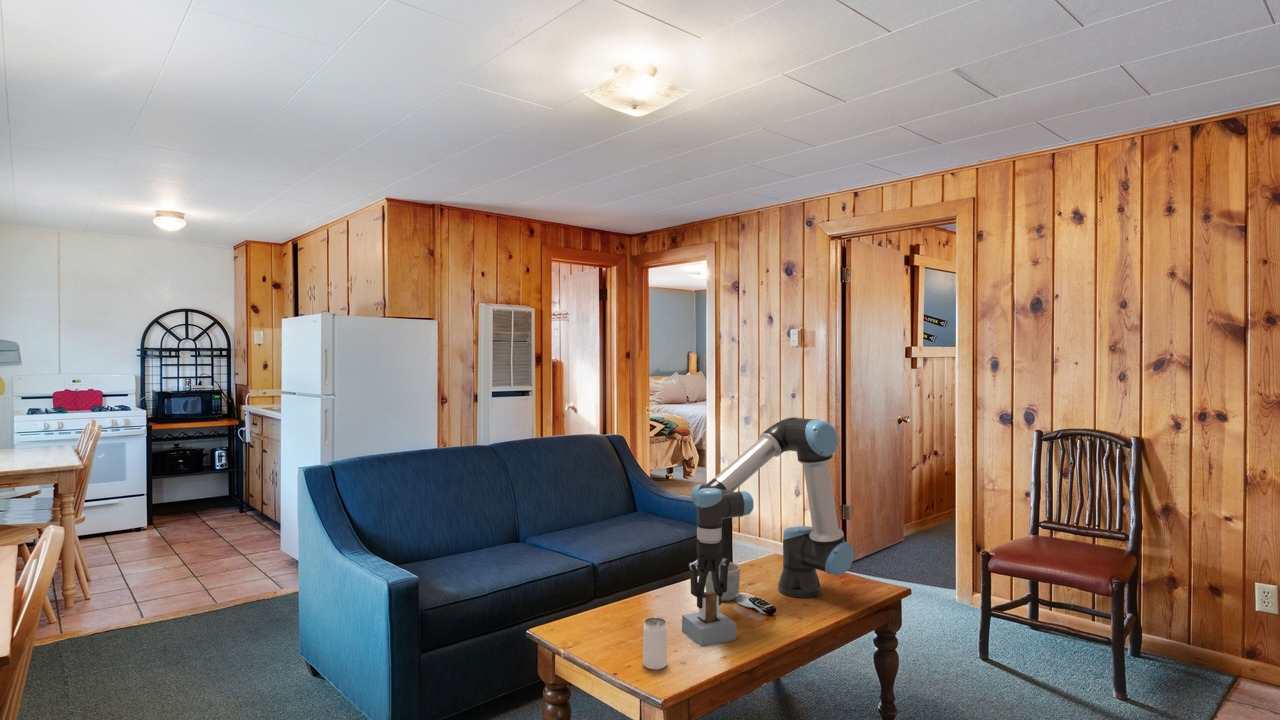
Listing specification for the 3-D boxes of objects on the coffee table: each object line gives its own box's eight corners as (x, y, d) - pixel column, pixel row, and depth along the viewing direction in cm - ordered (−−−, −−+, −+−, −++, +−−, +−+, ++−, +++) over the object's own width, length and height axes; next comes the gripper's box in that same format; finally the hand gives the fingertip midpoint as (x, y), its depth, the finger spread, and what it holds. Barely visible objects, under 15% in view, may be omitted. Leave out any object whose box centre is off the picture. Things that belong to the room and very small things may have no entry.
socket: (715, 625, 216) (716, 609, 216) (736, 639, 205) (736, 623, 205) (682, 631, 211) (682, 615, 211) (700, 646, 200) (700, 629, 200)
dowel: (711, 629, 211) (711, 590, 211) (717, 634, 207) (718, 595, 207) (699, 631, 209) (700, 592, 209) (706, 636, 206) (706, 596, 206)
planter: (739, 604, 234) (739, 572, 234) (703, 602, 237) (703, 570, 237) (740, 592, 247) (740, 562, 247) (706, 590, 249) (706, 560, 249)
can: (652, 672, 183) (652, 627, 183) (638, 663, 189) (638, 620, 189) (671, 666, 187) (671, 622, 187) (657, 657, 192) (657, 615, 192)
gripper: (726, 534, 215) (726, 609, 215) (678, 540, 208) (678, 616, 208) (739, 540, 208) (739, 617, 208) (690, 546, 201) (689, 625, 201)
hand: (708, 617), depth 208 cm, fingers closed on dowel, 4 cm apart
